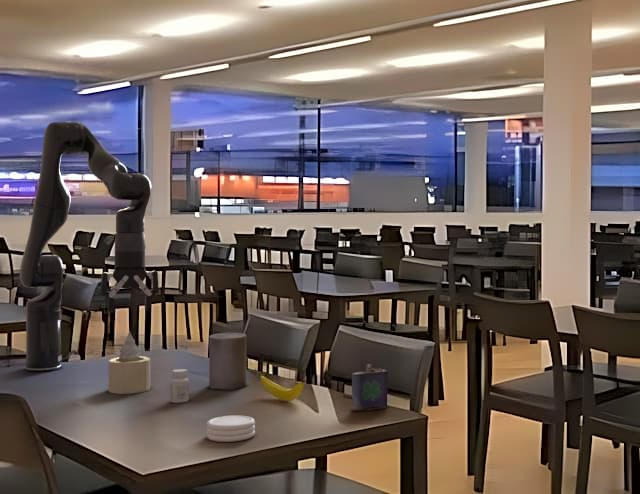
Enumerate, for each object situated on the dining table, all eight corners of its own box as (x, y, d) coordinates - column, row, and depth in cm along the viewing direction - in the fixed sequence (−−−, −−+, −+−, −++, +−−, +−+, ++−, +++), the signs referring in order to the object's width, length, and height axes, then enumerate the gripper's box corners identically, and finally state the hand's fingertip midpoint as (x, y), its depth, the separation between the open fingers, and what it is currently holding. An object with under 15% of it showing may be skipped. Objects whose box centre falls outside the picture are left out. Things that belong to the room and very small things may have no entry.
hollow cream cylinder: (106, 388, 253) (106, 357, 253) (146, 384, 258) (146, 355, 258) (111, 395, 244) (111, 364, 244) (153, 391, 249) (153, 360, 249)
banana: (265, 393, 247) (265, 369, 247) (309, 405, 234) (309, 379, 234) (255, 395, 245) (255, 370, 245) (299, 407, 232) (299, 380, 232)
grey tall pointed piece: (142, 385, 253) (142, 329, 253) (134, 389, 248) (134, 332, 248) (124, 385, 254) (124, 328, 254) (115, 389, 249) (115, 331, 249)
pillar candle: (242, 381, 262) (242, 327, 262) (249, 388, 254) (250, 331, 254) (205, 384, 258) (205, 329, 258) (212, 391, 250) (212, 333, 249)
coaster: (241, 428, 211) (241, 412, 211) (263, 437, 203) (263, 420, 203) (198, 435, 204) (198, 419, 204) (219, 445, 196) (219, 428, 196)
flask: (354, 412, 227) (354, 366, 226) (349, 409, 229) (349, 365, 229) (389, 407, 231) (389, 363, 231) (384, 405, 234) (384, 361, 234)
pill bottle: (192, 400, 239) (192, 369, 239) (181, 403, 235) (181, 372, 235) (177, 398, 240) (177, 368, 240) (166, 402, 236) (166, 371, 236)
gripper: (155, 248, 257) (155, 308, 258) (99, 249, 251) (99, 310, 251) (160, 249, 251) (160, 311, 251) (102, 250, 244) (102, 314, 244)
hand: (129, 311), depth 251 cm, fingers open, 8 cm apart
